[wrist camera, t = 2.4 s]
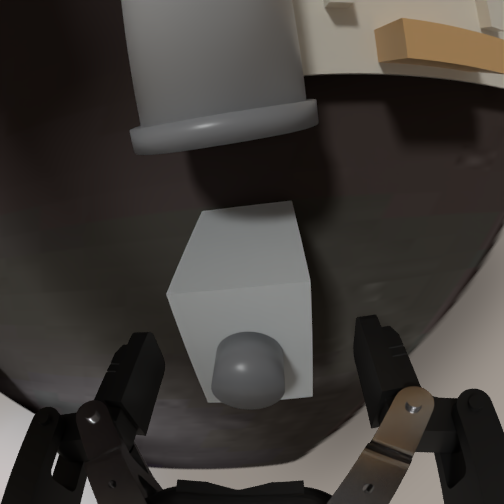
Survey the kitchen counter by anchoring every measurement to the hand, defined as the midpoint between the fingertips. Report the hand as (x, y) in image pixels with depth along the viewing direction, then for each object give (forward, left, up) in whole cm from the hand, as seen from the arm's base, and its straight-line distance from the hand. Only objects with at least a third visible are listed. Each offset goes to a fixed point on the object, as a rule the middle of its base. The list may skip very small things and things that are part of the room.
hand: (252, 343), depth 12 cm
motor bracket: (-15, +6, -6) cm, 17 cm away
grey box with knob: (0, 0, -6) cm, 6 cm away
